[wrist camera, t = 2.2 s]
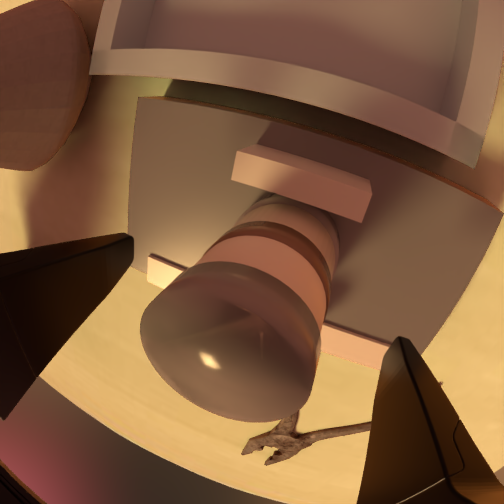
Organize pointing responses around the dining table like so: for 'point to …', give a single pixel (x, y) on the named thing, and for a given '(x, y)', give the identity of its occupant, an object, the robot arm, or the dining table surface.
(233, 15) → the tray
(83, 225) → the dining table surface
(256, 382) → the cylinder
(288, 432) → the pliers
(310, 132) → the fuse panel
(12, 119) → the coffee pot
